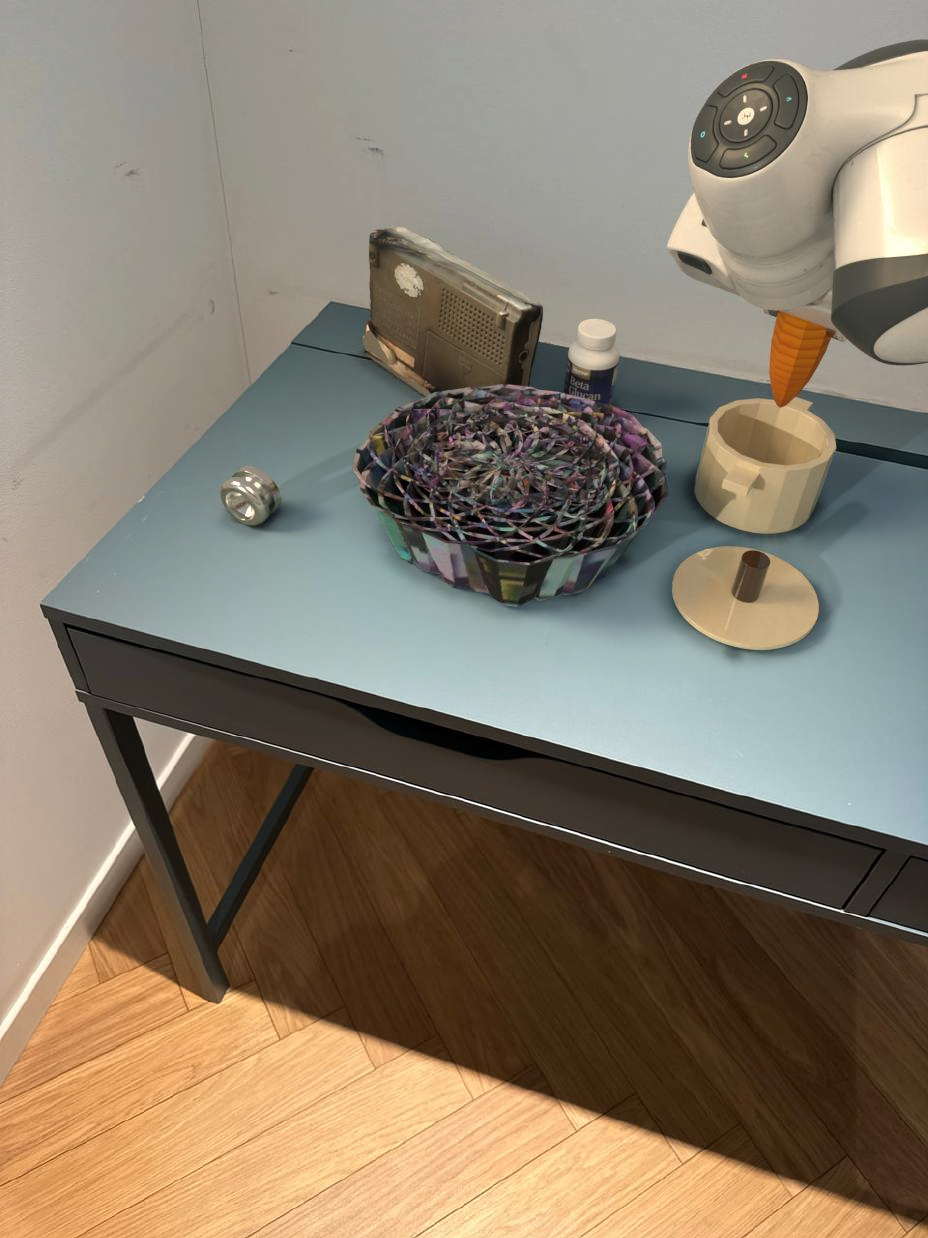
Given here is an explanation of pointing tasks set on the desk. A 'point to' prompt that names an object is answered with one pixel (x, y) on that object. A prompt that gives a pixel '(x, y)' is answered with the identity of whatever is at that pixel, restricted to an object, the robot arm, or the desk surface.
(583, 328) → the pill bottle
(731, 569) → the pot lid
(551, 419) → the decorative bowl
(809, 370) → the carrot
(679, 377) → the desk surface
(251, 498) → the metal grooved wheel
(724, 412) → the pot
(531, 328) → the radio
